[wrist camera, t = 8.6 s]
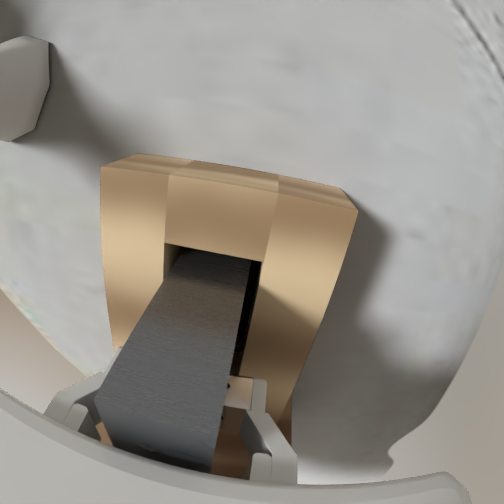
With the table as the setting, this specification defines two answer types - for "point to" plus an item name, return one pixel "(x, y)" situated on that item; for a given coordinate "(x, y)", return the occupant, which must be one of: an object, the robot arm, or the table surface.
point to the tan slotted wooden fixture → (234, 244)
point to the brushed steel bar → (178, 364)
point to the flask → (22, 85)
